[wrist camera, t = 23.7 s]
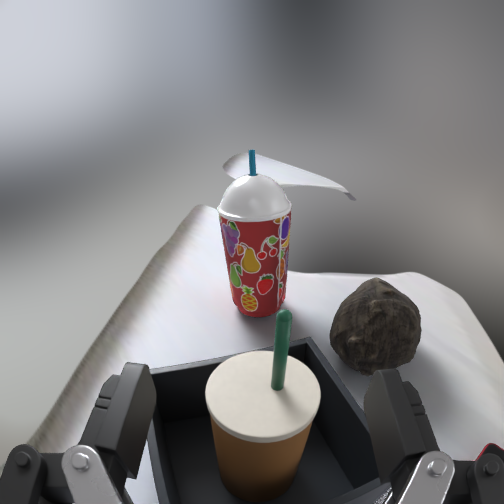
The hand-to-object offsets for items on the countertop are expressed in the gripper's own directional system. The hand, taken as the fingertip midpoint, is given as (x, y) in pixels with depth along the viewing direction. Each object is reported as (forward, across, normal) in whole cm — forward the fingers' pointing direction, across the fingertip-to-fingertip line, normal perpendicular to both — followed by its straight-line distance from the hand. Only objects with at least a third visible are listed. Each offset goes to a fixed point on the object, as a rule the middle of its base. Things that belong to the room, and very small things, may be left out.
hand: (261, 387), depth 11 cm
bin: (+4, 0, +17) cm, 17 cm away
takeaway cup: (+4, 0, +16) cm, 17 cm away
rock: (+18, -13, +17) cm, 28 cm away
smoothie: (+27, 0, +17) cm, 32 cm away
